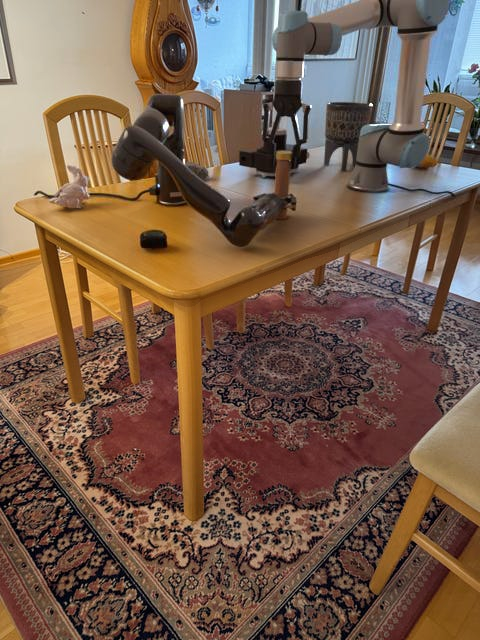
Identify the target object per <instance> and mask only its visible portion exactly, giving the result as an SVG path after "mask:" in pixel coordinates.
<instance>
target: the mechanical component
mask: <svg viewBox="0 0 480 640" xmlns="http://www.w3.org/2000/svg"><path fill="white" fill-rule="evenodd" d="M274 122H275V120H272V126H271V127H270V126H269V132H268V137H270V134H271V131H272V128H273V125H274ZM287 138H288V129H287V128H286V127H280V126H279V127H278V130H277V133H276V136H275V139H274V142H273V143H276V151H291V152H292V159H293V146H294V144H290V143H287ZM238 154H239V155H238V157H239V159H238V166H240V167H245V168H250V169H255V173H256V174H257V175H261V177H262V178H267V177H276V160H277V159H276V155H275V166H274V167H273V168H272V167H271V155H268V142H266V141H263V145H262V146H258V147H257V148H256V151H250V150H245V149H241V150H239V153H238ZM310 156H311V154H310V152H309V151H308V148H304V147H301V151H300V156H299V157H296V167H295V169H292V159H291V166H290V176H291V175H292V173H298V171H299V167H300V165H303V164H304V165H305V164H307V160H309V158H310Z"/></svg>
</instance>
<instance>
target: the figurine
mask: <svg viewBox="0 0 480 640" xmlns="http://www.w3.org/2000/svg"><path fill="white" fill-rule="evenodd" d="M65 168H66V169H67V170H68V171H69V172H70V173H71V174H72V177H73V182H67V183H64V184H63V185H62V186H61V187H60V188H59V189H58V190H57V191H56V192H55V193H54V194H53V195H54V196H58V195H59V197H58V198H57V197H55V198H49V200H48V201H49V203H50V204H53V205H55V204H56V205H57V206H59V207H63V208H64V207H66V208H67V209H82V207H81V206H79V205H80V204H84V203H85V201H84V200H90V198H91V196H89V194H88V193H89V188H88V187H87V186H88V183H89V181H90V180H91V178H90V177H89V176H86V175H85V174H83V170H82V169H81V168H80V167H77V166H75V165H73V166H72V165H70V164H67V165H66V166H65Z"/></svg>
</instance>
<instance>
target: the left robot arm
mask: <svg viewBox="0 0 480 640" xmlns="http://www.w3.org/2000/svg"><path fill="white" fill-rule="evenodd" d="M184 119H185V106H184V99H183V97H182V95H180V94H178V93H153V94H152V95H151V96H149V98H148V100H147V102H146V105H145V107H144V109H143V110H142V111H141V113H140V114H139V115H138V116H137V117H136V118H135V120H134V122H133V123H132V124H130V125H127V126H125V128H124V129H123V130H122V132H121V134H120V136H119V138H118V140H117V142H116V144H115V146H114V148H113V151H112V152H111V156H110V161H111V165H112V168H113V169H114V171H115V172H116V174H117V175H119V176H120V177H121V178H122V179H125V180H128V181H133V182H134V181H135V182H136V181H141V180H143V179H144V178H146V176H147V175H148V173H149V172H150V170H151V168H152V166H153V165H154V163H155V161H156V173H155V174H154V180H155V181H154V182H155V184H154V185H152V186H150V187H148V188H147V189H145V190H142V191H140V192H139V193H138V194H137V196H135V197H127V196H124V195H120V194H114V193H106V192H88V194H89V197H92V196H98V197H99V196H103V197H112V198H117V199H118V198H119V199H122V200H125V201H131V202H132V201H137V200H139V199H140V198H141V197H142V195H144V194H146V193H149V196H155V197H156V204H157V203H158V204H160V205H164V206H170V207H171V206H173V207H174V206H175V207H177V206H181V205H185V204H187V205H188V206H189V207H190V208H191V209H192V210H194V211H195V212H197V214H199V215H201V216H202V217H204V218H205V219H206V220H208V221H210V222H211V224H213V225H214V226H215V227H216V229H217V230H218V231H219V232H220V233H221V234H222V236H223V237H224V238H225V239H226V240H227V242H229V244H231V245H233V246H234V247H237V248H247V246H249V245H250V244H251V242H252V241H253V240H254V239H255V237H257V235H258V234H259V233H260V232H261V231H263V230H264V229H265V228H267V227H268V226H269V225H271V224H272V223H274V222H275V221H276V220H278V219H277V218H278V217H279V216H280V215H281V213H282V212H283V210H286V209H287V210H288V209H290V210H291V211H292V212H295V211H297V196H296V197H295V195H294V194H293V193H290V192H289V193H288V196H282V197H278V196H277V195H275V191H273V192H271V193H269V192H268V193H261V194H258V195H255V196H253V197H252V204H251V205H244V206H243V207H242V208H241V209H240V210H239V211H238V212H237V213H236V215H235V216H234V218H233V219H232V220H230V219H229V218H228V215H227V214H228V213H229V210H230V207H231V201H230V199H229V198H228V197H227V196H225V195H224V194H222V193H221V192H220V191H218V190H217V189H215V188H214V187H212V186H211V185H210V184H208V183H207V182H206V181H204V179H200V178H199V177H198V176H197V175H195V174H194V173H193V172H192V171H191V170H190V169H189V168H188V167H187V166H186V165H185V164H186V157H185V156H186V155H185V153H186V152H185V125H184V124H185V120H184ZM170 127H171V128H172V131H171V132H170ZM39 194H41V195H42V196H45V197H47V198H49V199H52V198H55V197H57V198H58V197H59V195H58V196H54V195H55V194H53V195H52V194H47V193H46V192H44V191H42V190H37V191H35V192H34V194H33V196H38V195H39Z"/></svg>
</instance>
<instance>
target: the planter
mask: <svg viewBox="0 0 480 640" xmlns="http://www.w3.org/2000/svg"><path fill="white" fill-rule="evenodd" d="M373 107H374V106H373V104H372V103H367V102H353V101H333V102H327V103H326V109H325V124H324V125H325V126H324V139H325V144H324V156H323V157H324V158H323V165H325V166H328V165H330V163H331V158H332V156H333V154H334V153H335V151H336V150H337V149H340V148H341V150H342V153H341V166H340V170H341V172H345V171H347V167H348V166H347V165H348V159H349V152H350V154H351V157H352V158H351V159H352V160H351V161H352V166H353V167H355V165H356V158H357V150H358V142H359V136H360V131H361V128H362V127H363V126H365V125H370V121H371V116H372V112H373Z"/></svg>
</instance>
